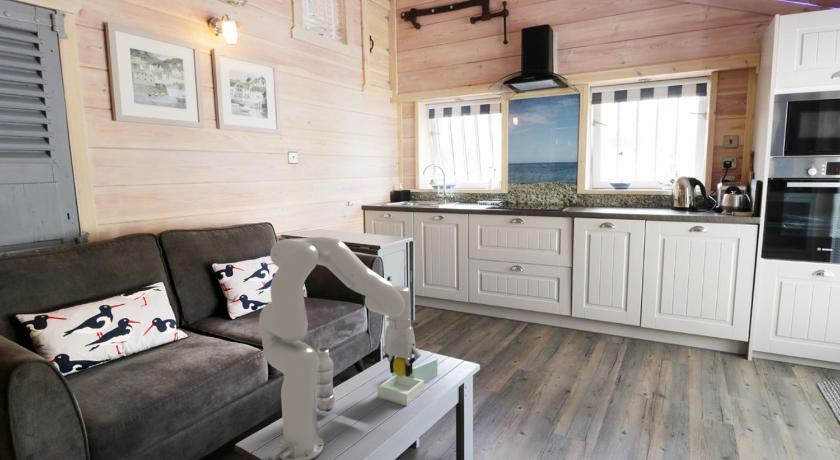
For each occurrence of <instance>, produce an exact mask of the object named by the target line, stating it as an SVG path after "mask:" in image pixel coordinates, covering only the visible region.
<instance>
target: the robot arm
mask: <svg viewBox="0 0 840 460" xmlns="http://www.w3.org/2000/svg"><path fill="white" fill-rule="evenodd" d="M269 255H270V260H271V261H272V263H273V264H274V265H275V266H276V267H277V269H276V272H275V273H274V275H273V278H272V280H271V283H270V298H271V301H270V302H268V303H266V305H264V307H262V310H261V312H260V314H259V319H258V322H259V323H258V325H259V331H260V338H261V343H262V348H263V354H264V357H265V359H266V361H267V363H268V364H269V365H270V366H271V367H272V368H274V369H276V370H278V371H280V372H281V373H282V374H283V381H282V384H281V392H280V398H281V399H280V400H281V401H280V402H281V412H282V413H281V414H282V416H281V417H282V433H283V437H282V438H283V439H281V440H280V445H279V446H278V448H277V449H275V450H273V451H272V452H270V454H269V455H270V458H271V459H272V460H277V459H278V457H279V458H280V459H281V460H312V459H314V458H316V457H318V456H319V455H320V454H321V453H322V452H323V451H324V447H325V446H324V445H325V442H324V440H323V438H322V437H321V436H319V432H318V431H319V430H318V427H319V426H318V409H317V402H316V374H317V367H318V356H317V352H316V350H315V349H314V348H313V347H312V346H311V345H309V344H308V343H305V342H303V341H301V340H302V339H303V338H304V337H305V336H306V334H307V332H308V327H309V325H308V322H309V321H308V315H307V309H306V303H305V296H304V285H305V281H306V280H307V278H308V276H309V275H310V274H311V272H312V271H313V270H314V269H315V268H316V266H317V265H318V266H324V267H325V268H327V269H328V270H329V271H330V272H331V273H333V275H334V276H335V277H337V278H338V279H339V280H340V281H341V283H343V284H344V285H345V287H347V288H349V289H350V290H352V291H354V292H356V293H358V294H360V295H363V296H365V299H364V304H365V306H366V308H367V309H368V310H369V311H371V312H373V313H376V314H380V315H384V316H387V317H386V319H385V320H386V322H388V325H387V326H386V329H385V336H384V346H382V348H381V351H382V352H383V354H384V355H385V356H386V358H387V361H388V363H389V371H390V372H389V373H391V374H392V373H393V372H394V369H393V363H394V360H395V358H396V357H400V358H405V360H406V363H407V365H406V366H405V368H406V377H408V376H410V375H411V374H412V372H413V368H412V367H413V364H414V363H415V362H416V361H417V360H418V359H420V358H421V354H420V353H419V351H418V350H417V348H416V341H415V340H416V339H415V332H414V328H413V326H412V314H411V313H412V311H411V309H412V308H411V289H410V288H409V287H408V286H405V285H397V286H395V285H392V283H390V282H389V281H388V280H386V279H385V278H383V277H382V276H381V275H379V274H378V273H376V272H375V271H373V270H372V269H371V268H369V267H368V266H367V265H365V263H363V262H362V260H361V259H360V258H359V257H358V256H357V255H356V254H355V253H354V251H352V250H351V249H350V247H348V245H346V244H345V243H344V242H343V241H341V240H340V239H336V238H333V237H332V238H331V237H324V236H319V237H318V236H316V237H302V238H301V237H300V238H284V239H280V240H277V241H276V242H275V243H274V244H273V245H272V247H271V249H270V254H269Z"/></svg>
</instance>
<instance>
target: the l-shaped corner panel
mask: <svg viewBox="0 0 840 460" xmlns="http://www.w3.org/2000/svg"><path fill="white" fill-rule="evenodd" d="M412 368H413V372H412V374H411V375H410V376H408V377H411V378H415V379H419V380H424V384H426V383H428V382H429V381H431V380H433V379H435V378H436V377H438V359H437V358H434V359H432V360H430V361H426V362H424V363H421V364H419V365H417V366H415V367H414V366H412ZM391 374H392V375H391V377H393V376H394V375H395V372H393V373H391ZM404 376H406V375H404Z"/></svg>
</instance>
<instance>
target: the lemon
mask: <svg viewBox="0 0 840 460" xmlns="http://www.w3.org/2000/svg"><path fill="white" fill-rule="evenodd" d="M406 365H407V363H406V360H405V358H400V357H395V360H394V363H393V369H394V372H395V374H397V375H398V376H400V377H403V376H404V375H406V368H405V366H406Z"/></svg>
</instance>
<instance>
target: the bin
mask: <svg viewBox="0 0 840 460" xmlns="http://www.w3.org/2000/svg"><path fill="white" fill-rule="evenodd" d="M424 392H425V383H424V380H419V379H415V378H411V377H406V376H403V377H400V376H398V375H397V374H395V375H394V376H393V377H392V376H391V377H390V378H388V379H387V380H385V381H384V382H383V383H381V384H380V385H378V386H377V398H378V399H381V400H385V401H387V402H392V403H396V404H399V405H402V406H406V407H407V406H408V405H409V406H410V404H412V402H413V401H415V400H416V399H417V398H418V397H419V396H420V395H422V394H423V393H424Z"/></svg>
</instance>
